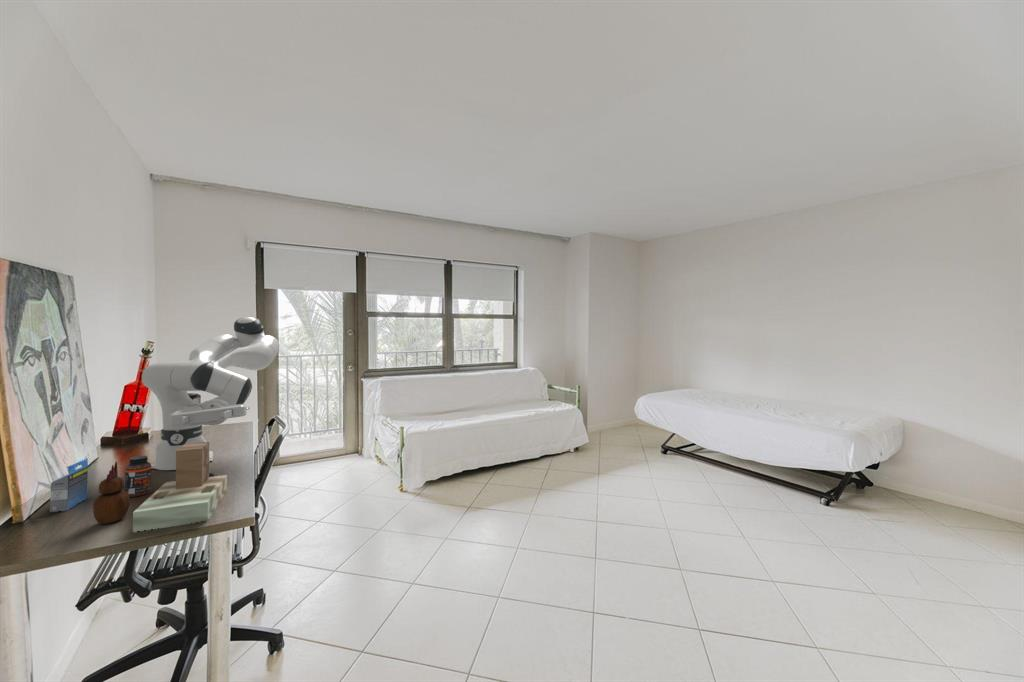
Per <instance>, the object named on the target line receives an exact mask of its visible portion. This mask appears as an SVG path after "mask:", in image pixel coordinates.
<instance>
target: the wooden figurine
mask: <svg viewBox="0 0 1024 682" xmlns="http://www.w3.org/2000/svg"><path fill="white" fill-rule="evenodd" d="M114 462H115V463H114V464H112V465H111V469H110V470H109V472H108V473H107V475H106V478H105V479H102V480H101V481H100V483H99V485H98V492H99V493H100V495H98V496H97V497H96V498H95V499H94V501H93V505H92V513H93V518H94V520H95V521H96V522H97V523H98V524H99V525H107V524H113V523H115V522H118V521H120V520H122V519H124V518H125V516H126V515H127V513H128V511H129V507H130V503H131V502H130V500H131V499H130V497H129V495H128V493H127V492H126V491H125V478H123V477H120V476H119V473H118V472H119V471H118V470H119V469H118V462H117V461H114Z"/></svg>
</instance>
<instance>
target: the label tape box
mask: <svg viewBox="0 0 1024 682" xmlns="http://www.w3.org/2000/svg"><path fill="white" fill-rule="evenodd" d="M78 466H79V468H78ZM80 466H81V467H80ZM66 468H67V473H68V474H66V475H64V476H62V477H59V478H57V479H55V480H54V481H51V482H50V497H49V499H50V500H49V513H58V511H61V512H66V511H70V510H71V509H72V508H74V507H75V506H77V505H78V503H79V504H80V503H82V502H84V501H85V500H86V499H87V494H88V491H87V490H88V473H89V460H88V457H87V458H84V459H82V460H80V461H77V462H75V463H72V464H70V465H67V466H66ZM83 500H84V501H83ZM70 508H71V509H70Z"/></svg>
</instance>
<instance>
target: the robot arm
mask: <svg viewBox="0 0 1024 682" xmlns="http://www.w3.org/2000/svg"><path fill="white" fill-rule="evenodd" d="M264 330H265V328H264V325H263V324H262V321H261V320H260V319H259V318H257V317H254V316H245V317H240V318H238V319H236V320H235V321H234V322H233V331H234V335H235V336H233V335H231V334H229V333H221V334H219V335H216V336H213V337H212V338H209V339H208V340H207V341H206V340H205V342H203V343H202V344H200V345H199V346H197V347H195V348H194V349H193V350H191V352H190V353H189V355H188V356H189V359H188V361H186V360H185V361H162V362H155V363H152V364H148V365H147V366H146V367H145V368H144V370H143V371H142V374H141V381H142V383H143V385H144V386H145V387H146V388H148V389H149V390H151V392H152V393H153V394H154V395H155V397H156V398H157V400H158V402H159V403H160V407H161V414H162V415H161V418H162V429H160V439H161V441H160V442H159V443H157V444H156V445H155V451H154V452H155V453H154V463H151V469H155V470H158V471H176V450H178V449H179V448H180V447H182V446H183V445H184V444H190V443H202V442H207V440H206V439H205V437H204V436H203V426H217V425H220V424H222V423H224V422H226V421H227V420H229V419H232V418H233V419H234V418H241V417H245V416H246V415H247V411H249V410H250V406H247V405H246V404H245V402H246V401H247V400H248V398H249V396H250V394H251V392H252V389H253V385H252V384H253V383H252V381H251V379H250V377H248V376H245V375H242V374H239V373H237V372H234V371H232V370H228V369H227V368H229V367H236V368H241V369H245V370H250V371H261V370H265V369H266V368H268V367H269V366H270V365H271V364H272V363H273V361H274V360H275V358H276V357H277V355H278V352H279V350H280V342H279V340H278V339H277V338H276V337H275V336H273V335H269V334H265V331H264ZM200 391H201V392H206V393H208V394H211V395H215V396H217V397H213V398H212V399H210V400H206V401H203V402H201V403H198V402H197V401H195V400H194V399H192V398H191V397H190V396H189V394H188V392H200ZM212 460H213V461H214V452H213V451H212V450H209V463H211V462H210V461H212ZM213 461H212V462H213Z"/></svg>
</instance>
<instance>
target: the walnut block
mask: <svg viewBox="0 0 1024 682" xmlns="http://www.w3.org/2000/svg"><path fill="white" fill-rule="evenodd" d="M209 451H210V441H206V442H202V443H190V444H184V445H183V446H182V447H180V448H179V449H178V450H176V470H175V481H176V489H183V488H191V487H199V486H202V485H203V484H204V483H205V482H206V481H207V479H208V478H209V473H210V462H209Z"/></svg>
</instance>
